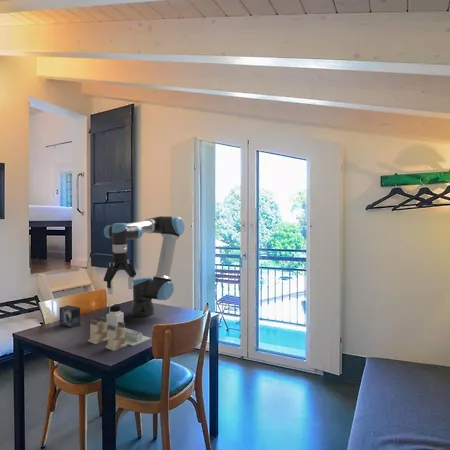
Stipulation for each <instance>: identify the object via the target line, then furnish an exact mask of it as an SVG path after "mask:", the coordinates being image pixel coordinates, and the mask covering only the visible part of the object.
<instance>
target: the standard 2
mask: <svg viewBox="0 0 450 450" xmlns="http://www.w3.org/2000/svg"><path fill="white" fill-rule="evenodd" d="M125 328H126V323H125V322H124V323H123V322H118V326H117V327H115V326H113V325H108V327H107V332H108V340H107V344H106V345H105V349H108V350H111V351H113V352H114V351H117V350H119V349H122V348H124V347H127V346H128V345H127V343H125Z"/></svg>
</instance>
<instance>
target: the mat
mask: <svg viewBox="0 0 450 450" xmlns="http://www.w3.org/2000/svg"><path fill="white" fill-rule="evenodd" d="M107 337H108V331H107ZM150 340H152V337H149V336H146V335H143V334H142V340H140V341H138V342H136V341H133V340H130V339H127V338H125V343H127V346H130V347H131V346H132V347H134V346H137V345H140V344H143V343H145V342H148V341H150Z"/></svg>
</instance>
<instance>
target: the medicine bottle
mask: <svg viewBox="0 0 450 450" xmlns="http://www.w3.org/2000/svg"><path fill="white" fill-rule="evenodd" d="M108 310H109V312H108V313H107V314H105V318H107V328H108V325H117V326H118V322H123V323H125V320H124V319H125V318H124V316H125V315H124V312H123V311H121V304H118V303H113V304H110V305H109V309H108Z"/></svg>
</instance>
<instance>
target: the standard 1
mask: <svg viewBox="0 0 450 450" xmlns="http://www.w3.org/2000/svg"><path fill="white" fill-rule="evenodd" d="M89 323H90V324H89V327H90V328H89V339H88V340H87V342H89V343H91V344H94V345H96V344H100V343H103V342H106V341H108V337H107V332H108V327H107V318H106V316H105V317H104V316H100V317H99V321H98V320H95V319H92V318H91V319H90V320H89Z"/></svg>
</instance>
